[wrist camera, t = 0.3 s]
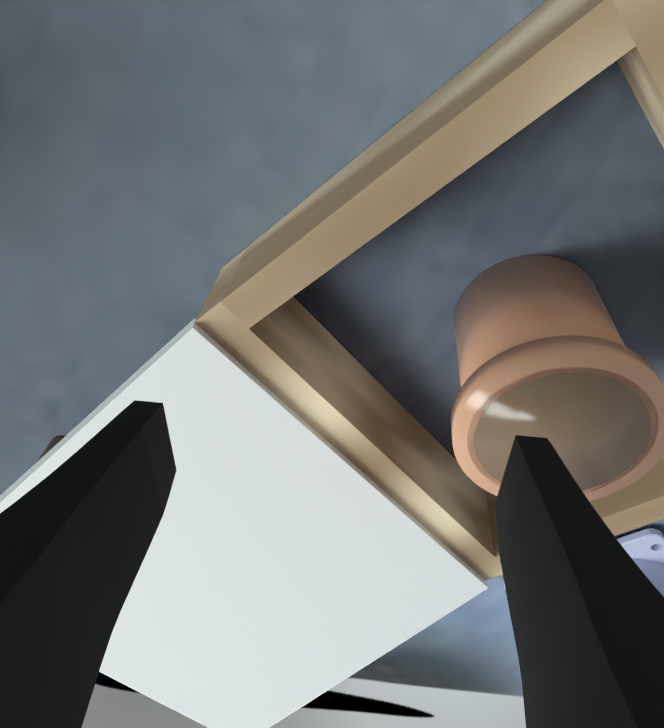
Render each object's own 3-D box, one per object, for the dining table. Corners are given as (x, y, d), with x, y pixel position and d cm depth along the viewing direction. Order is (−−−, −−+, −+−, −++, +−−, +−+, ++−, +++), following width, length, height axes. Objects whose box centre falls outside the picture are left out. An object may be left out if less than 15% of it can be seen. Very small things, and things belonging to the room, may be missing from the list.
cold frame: (827, 370, 21) (995, 556, 15) (268, 598, 34) (239, 745, 28) (619, -60, 14) (774, -36, 8) (22, 432, 27) (-85, 579, 21)
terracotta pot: (642, 331, 21) (711, 457, 16) (497, 403, 23) (520, 530, 19) (561, 209, 18) (614, 314, 14) (410, 305, 21) (411, 421, 16)
